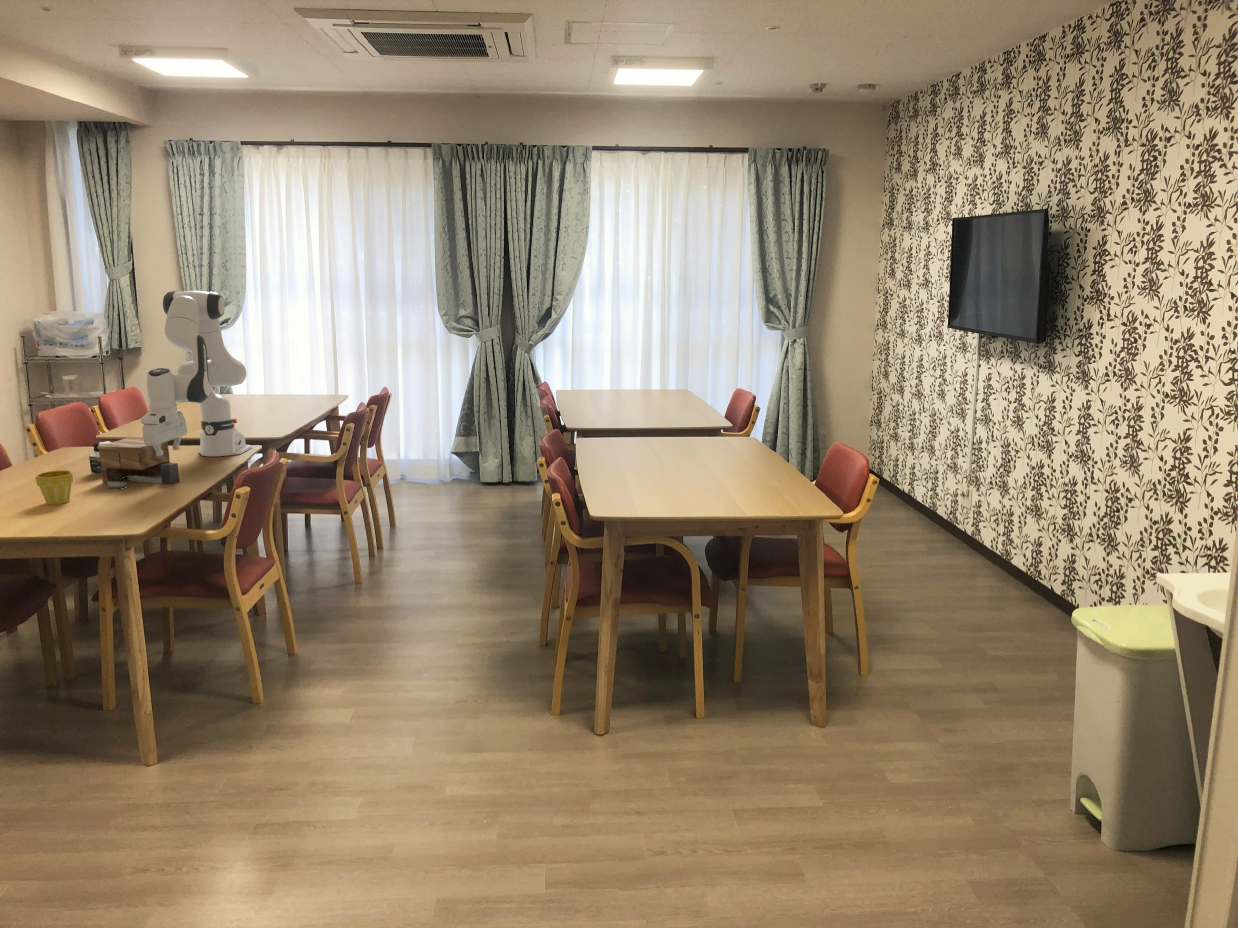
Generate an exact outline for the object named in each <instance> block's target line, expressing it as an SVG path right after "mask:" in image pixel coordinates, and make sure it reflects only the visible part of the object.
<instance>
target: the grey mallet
mask: <svg viewBox="0 0 1238 928" xmlns="http://www.w3.org/2000/svg"><path fill="white" fill-rule="evenodd" d="M160 467H161V475H154V474H143V473H134V474H130V475H127V477H126V478H127V481H128V480H132V481H131V482H138V481H141V482H140V483H151V484H161V485H175V484H177V483H181V482H180V473H179V471H180V470H179V463H178V462H170V463H165V464H161V465H160Z"/></svg>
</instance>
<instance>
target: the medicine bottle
mask: <svg viewBox="0 0 1238 928" xmlns="http://www.w3.org/2000/svg"><path fill="white" fill-rule="evenodd" d="M108 443H111V441H109V440H99V441H95V442H94V443H93V445H92V446H93V453H94V454H90V455H89V456H88V459H89V467H90V474H91V475H97V474H98V476H102V472H101V463H100V455H99V449H98V448H97V446H100V445H104V444H108Z"/></svg>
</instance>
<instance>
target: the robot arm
mask: <svg viewBox="0 0 1238 928" xmlns="http://www.w3.org/2000/svg"><path fill="white" fill-rule="evenodd" d="M162 308H163V311H164V314H166V318H165V323H164V335H165V337H166V339H167V340H168V341H169V343H171V344H172V345H174V346H175V347H177V348H179V349H181V350H185V351H188V352H190V353H191V354H192V357H193V359H192V360H190V361H183V362H182V363H180V365H179V367H178V370H177V374H172V371H171V370H170V368H165V367H164V368H163V367H160V368H159V367H158V368H153V369H150V371H148V372H147V373H146V374H147V375H146V389H147V390H146V391H147V397H148V399H149V406H148V408H149V410H148V411H147V412H146V413H145V415H144V414H143V416H142V417H141V419H140V423H141V424H142V429H141V431H142V438H143V440H144V443H145V444H146V445H147V446H153V448H154V449H155V451H156V455H157V456H162V455H163V450H161V448H160V447H161V443H164V442H167V441H172V440H173V444H172V450H173V451H178V450H180V444H181V441H182V438H181V437H183V436H186V435H187V434H188V427H187V421H186V419H185V416H184V414H183V413H182V411H181V410H178V405H177V403H178V402H181V403H184V402H185V403H188V402H190V403H196V404H198V403H199V407H200V412H201V413H200V414H201V421H200V423H201V424H200V426H201V430H202V431H201V433H200V435H199V438H200V439H199V443H200V444H199V445H200V447H199V450H198V454H200V455H201V456H205V457H223V456H224V457H226V456H233V455H242V454H244V453H245V452H246V451H248V450H250V449H252V448H253V446H252V445H250V444H247V443H246V438H245V437H246V436H245V435H244V434H243V433H242V432H241V431H239V429H237V428H236V427H235V424H237V423H238V419H237V418H232V412H231V403H230V400H228V398H227V397H225V396H224V395H221V394H219V393H217V392H215V390H214V387H215V388H216V387H234V386H238V385H242V384H243V383H244V381H245V380H246V378H247V369H246V367H245V364H243V363H242V362H241V361H240V360H239V359H237V358H235V357H234V356H233V355H232V354H231V353H230V352H229V351H228V349H227V348H226V345H225V343H224V340H223V335H222V330H221V329H222V328H221V323H220V318H222V317H223V315H224V313H225V310H226V309H225V308H226V305H225V300H224V297H223V296H222V295H221V294H220V293H219V292H216V291H215V292H214V291H203V290H195V289H194V290H181V291H179V290H178V291H177V290H172V291H168V292H167V293H166V294H165V295H164V296H163V299H162ZM208 358H209V359H208Z"/></svg>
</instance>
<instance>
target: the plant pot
mask: <svg viewBox="0 0 1238 928" xmlns="http://www.w3.org/2000/svg"><path fill="white" fill-rule="evenodd" d="M35 480H36V481H35V482H36V486H37V487H39V489H40V491H41V494H42V496H43V498H44V501H45V503H46V505H53V506H55V505H63V504H66V503H68V502H70V501H71V492H72V490H71V489H72V483H73V482H74V474H73V472H72V471H71V470H67V469H65V470H64V469H63V470H50V471H44V472H41V473H38V474H36V475H35Z"/></svg>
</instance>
